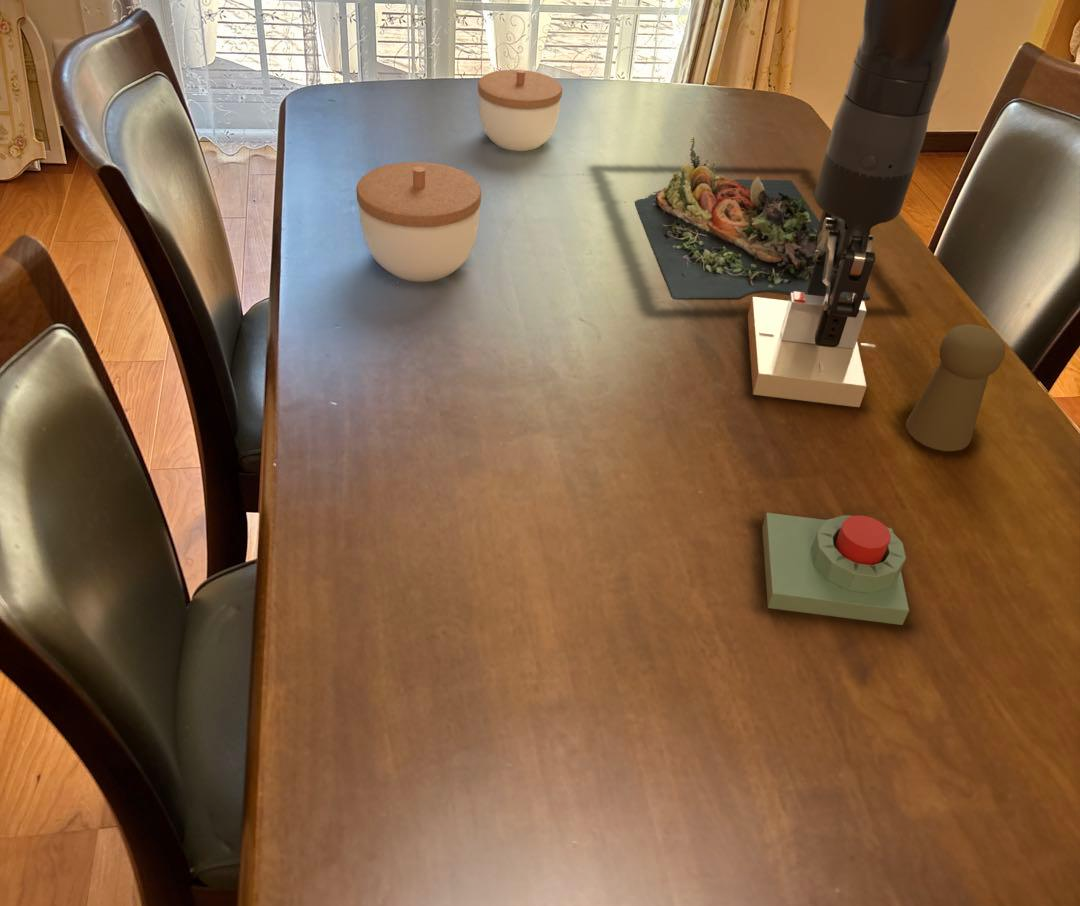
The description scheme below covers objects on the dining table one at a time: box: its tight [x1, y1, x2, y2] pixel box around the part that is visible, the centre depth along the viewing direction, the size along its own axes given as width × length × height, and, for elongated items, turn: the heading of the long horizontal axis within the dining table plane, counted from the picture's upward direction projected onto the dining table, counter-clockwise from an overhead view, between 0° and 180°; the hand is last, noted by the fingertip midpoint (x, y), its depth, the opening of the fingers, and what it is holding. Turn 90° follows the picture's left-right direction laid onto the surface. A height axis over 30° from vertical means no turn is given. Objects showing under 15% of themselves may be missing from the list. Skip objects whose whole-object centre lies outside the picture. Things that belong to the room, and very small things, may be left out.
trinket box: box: [477, 69, 563, 152], centre depth 132 cm, size 11×11×9 cm
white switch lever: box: [781, 291, 868, 349], centre depth 98 cm, size 7×2×4 cm, turn 84°
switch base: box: [747, 296, 876, 408], centre depth 100 cm, size 12×14×3 cm
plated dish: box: [634, 137, 871, 301], centre depth 117 cm, size 35×28×7 cm
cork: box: [905, 323, 1006, 452], centre depth 90 cm, size 6×6×11 cm
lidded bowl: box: [356, 161, 482, 283], centre depth 106 cm, size 13×13×11 cm
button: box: [836, 515, 891, 565], centre depth 76 cm, size 4×4×2 cm
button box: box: [761, 512, 910, 626], centre depth 78 cm, size 10×9×4 cm
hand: (821, 320), depth 98 cm, fingers open, 8 cm apart
